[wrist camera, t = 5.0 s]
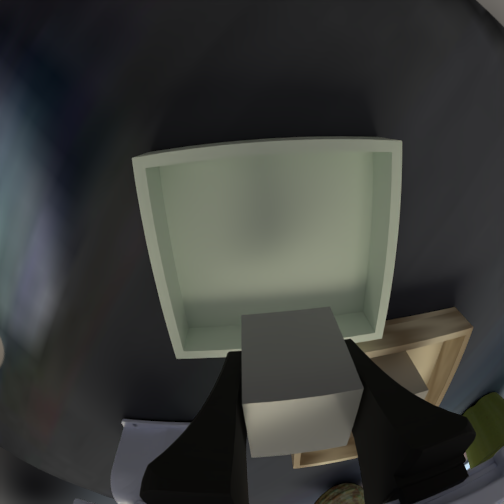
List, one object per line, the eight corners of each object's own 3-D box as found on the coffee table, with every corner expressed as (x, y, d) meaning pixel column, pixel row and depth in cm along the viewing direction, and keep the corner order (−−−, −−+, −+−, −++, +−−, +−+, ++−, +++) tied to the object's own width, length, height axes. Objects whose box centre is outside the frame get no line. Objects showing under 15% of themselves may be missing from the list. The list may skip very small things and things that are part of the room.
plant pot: (440, 445, 32) (465, 500, 22) (446, 410, 28) (481, 479, 17) (501, 407, 30) (530, 455, 20) (516, 363, 26) (557, 419, 16)
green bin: (183, 329, 21) (176, 358, 18) (149, 151, 16) (131, 158, 13) (367, 312, 21) (381, 338, 18) (377, 137, 16) (401, 140, 13)
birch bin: (290, 445, 27) (293, 468, 25) (291, 333, 21) (298, 362, 18) (410, 420, 27) (419, 440, 25) (454, 306, 21) (473, 327, 18)
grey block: (248, 375, 15) (251, 457, 11) (241, 315, 13) (242, 403, 9) (324, 367, 15) (346, 445, 11) (329, 306, 13) (363, 388, 9)
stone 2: (350, 388, 23) (366, 434, 18) (357, 355, 21) (378, 403, 17) (392, 379, 23) (413, 422, 18) (402, 346, 21) (428, 389, 17)
